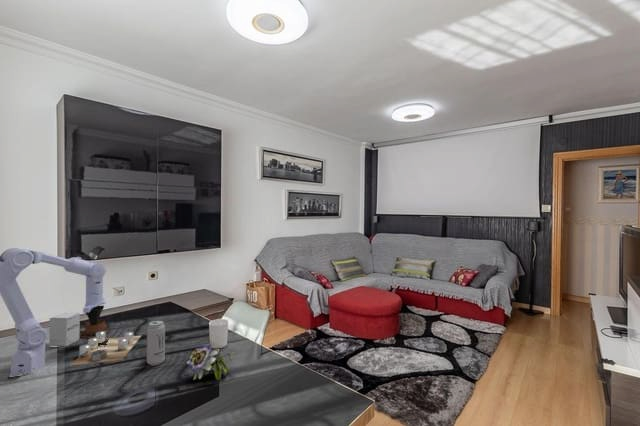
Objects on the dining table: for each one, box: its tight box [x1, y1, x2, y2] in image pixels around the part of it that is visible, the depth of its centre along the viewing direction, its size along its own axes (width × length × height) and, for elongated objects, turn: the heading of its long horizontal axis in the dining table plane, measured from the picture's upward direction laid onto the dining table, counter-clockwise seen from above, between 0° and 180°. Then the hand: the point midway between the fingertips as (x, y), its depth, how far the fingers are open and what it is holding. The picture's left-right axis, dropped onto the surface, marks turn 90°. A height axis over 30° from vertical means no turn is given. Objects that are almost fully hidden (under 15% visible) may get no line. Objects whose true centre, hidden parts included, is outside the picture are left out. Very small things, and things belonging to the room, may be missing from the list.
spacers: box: [79, 331, 134, 358], centre depth 127 cm, size 17×15×4 cm
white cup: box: [208, 318, 229, 349], centre depth 130 cm, size 8×8×10 cm
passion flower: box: [186, 341, 233, 382], centre depth 107 cm, size 13×12×14 cm
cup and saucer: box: [79, 318, 112, 339], centre depth 141 cm, size 12×12×6 cm
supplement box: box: [48, 312, 81, 347], centre depth 131 cm, size 7×7×13 cm
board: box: [69, 335, 142, 366], centre depth 125 cm, size 24×17×1 cm
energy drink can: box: [146, 320, 166, 367], centre depth 115 cm, size 6×6×15 cm
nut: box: [91, 350, 107, 362], centre depth 116 cm, size 5×4×2 cm
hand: (94, 324), depth 127 cm, fingers closed
